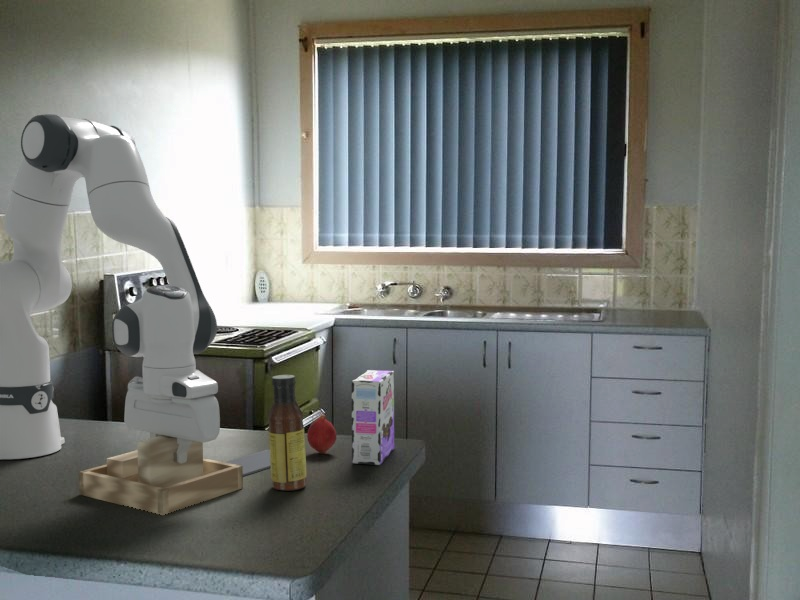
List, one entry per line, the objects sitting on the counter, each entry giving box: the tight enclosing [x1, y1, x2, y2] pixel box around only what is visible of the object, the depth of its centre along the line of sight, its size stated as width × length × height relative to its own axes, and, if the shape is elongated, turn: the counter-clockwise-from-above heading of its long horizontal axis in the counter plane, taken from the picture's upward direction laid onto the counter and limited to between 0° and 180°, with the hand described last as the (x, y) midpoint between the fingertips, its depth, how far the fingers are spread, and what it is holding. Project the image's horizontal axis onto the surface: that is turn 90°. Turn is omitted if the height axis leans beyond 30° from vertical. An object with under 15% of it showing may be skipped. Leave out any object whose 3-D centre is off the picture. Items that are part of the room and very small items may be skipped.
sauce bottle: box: [268, 374, 308, 492], centre depth 169 cm, size 7×6×20 cm
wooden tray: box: [78, 457, 244, 516], centre depth 167 cm, size 21×18×4 cm
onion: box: [306, 414, 337, 455], centre depth 193 cm, size 6×6×8 cm
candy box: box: [351, 369, 395, 466], centre depth 190 cm, size 14×6×16 cm, turn 168°
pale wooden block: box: [136, 435, 204, 488], centre depth 165 cm, size 3×12×10 cm, turn 146°
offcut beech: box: [106, 449, 138, 478], centre depth 170 cm, size 4×8×3 cm, turn 148°
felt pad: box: [224, 448, 271, 477], centre depth 186 cm, size 9×17×1 cm, turn 146°
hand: (171, 460), depth 165 cm, fingers closed on pale wooden block, 3 cm apart
